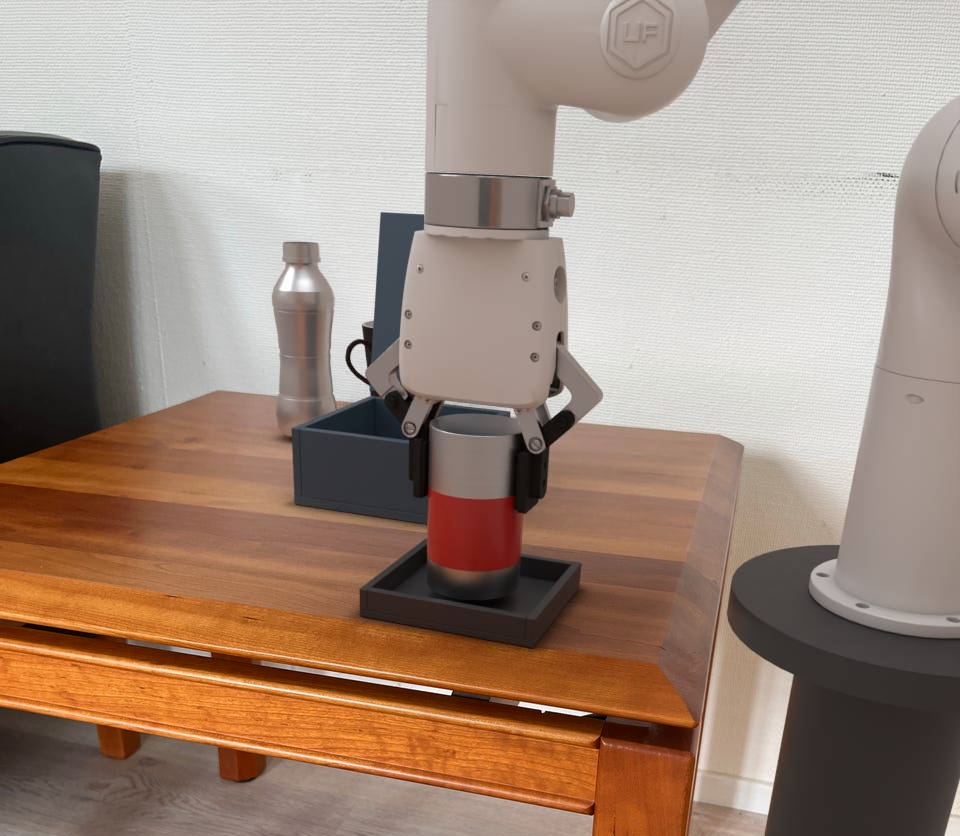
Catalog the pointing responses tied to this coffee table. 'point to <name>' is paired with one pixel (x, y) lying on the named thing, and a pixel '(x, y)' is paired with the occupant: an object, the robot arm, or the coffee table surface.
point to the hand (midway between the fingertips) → (476, 497)
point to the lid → (392, 278)
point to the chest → (360, 461)
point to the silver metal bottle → (303, 337)
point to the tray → (500, 619)
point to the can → (473, 506)
